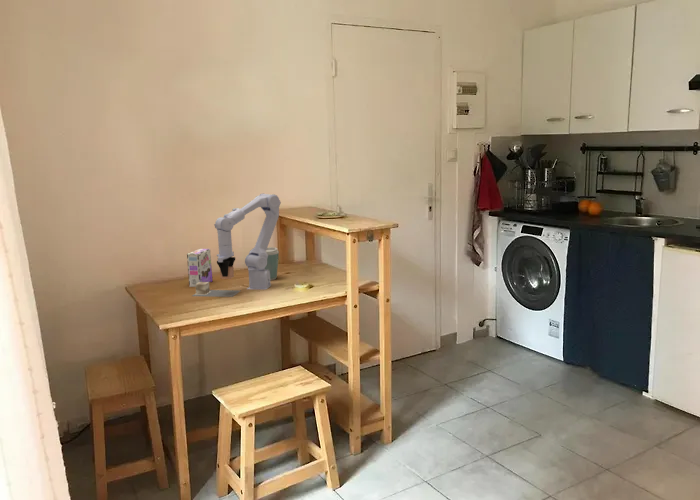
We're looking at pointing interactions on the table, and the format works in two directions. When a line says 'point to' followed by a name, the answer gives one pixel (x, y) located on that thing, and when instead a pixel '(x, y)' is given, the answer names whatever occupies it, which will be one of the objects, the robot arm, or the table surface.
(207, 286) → the block cream
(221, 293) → the board
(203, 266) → the candy box
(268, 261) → the disposable coffee cup
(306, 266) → the table surface
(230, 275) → the block terracotta
